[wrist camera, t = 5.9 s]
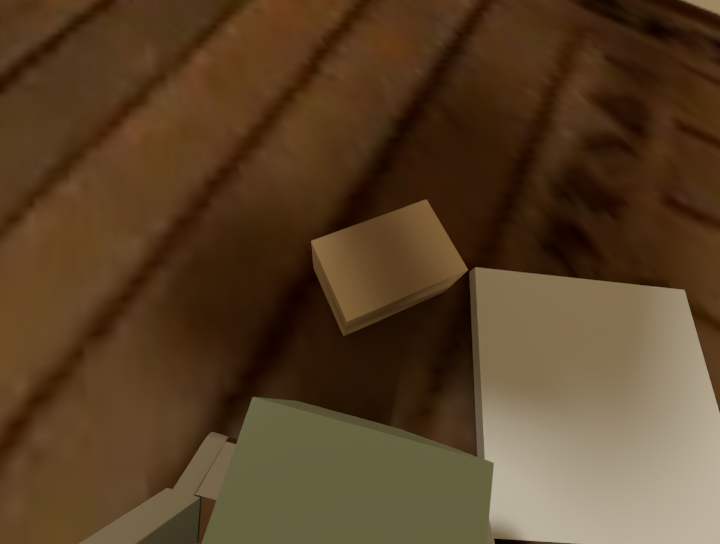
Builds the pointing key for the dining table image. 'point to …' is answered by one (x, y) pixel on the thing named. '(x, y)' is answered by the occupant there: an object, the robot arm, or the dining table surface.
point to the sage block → (345, 483)
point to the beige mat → (593, 411)
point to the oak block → (385, 265)
